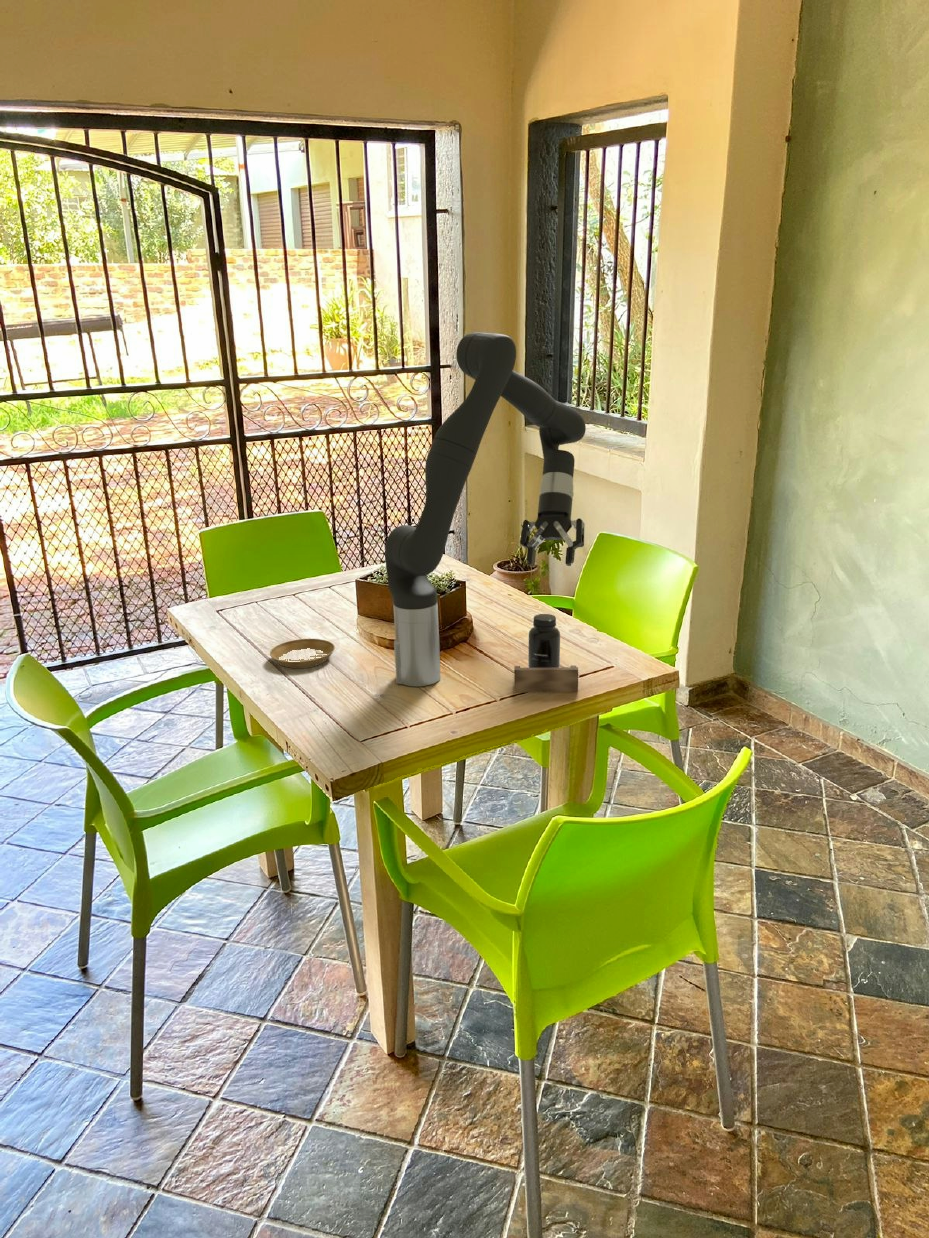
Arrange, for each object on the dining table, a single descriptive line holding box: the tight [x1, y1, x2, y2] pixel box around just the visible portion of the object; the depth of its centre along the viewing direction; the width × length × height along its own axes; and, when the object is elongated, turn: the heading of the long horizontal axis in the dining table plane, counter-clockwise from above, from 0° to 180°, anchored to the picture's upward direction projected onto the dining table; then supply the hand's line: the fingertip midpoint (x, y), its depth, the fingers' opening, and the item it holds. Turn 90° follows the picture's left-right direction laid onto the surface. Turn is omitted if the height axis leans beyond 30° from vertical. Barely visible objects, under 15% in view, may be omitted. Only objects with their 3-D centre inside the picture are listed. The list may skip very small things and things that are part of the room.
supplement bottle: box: [527, 613, 561, 668], centre depth 194 cm, size 7×7×12 cm
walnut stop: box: [513, 665, 579, 693], centre depth 186 cm, size 13×6×5 cm, turn 87°
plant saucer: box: [269, 638, 336, 669], centre depth 205 cm, size 15×15×3 cm
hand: (549, 565), depth 199 cm, fingers open, 8 cm apart
